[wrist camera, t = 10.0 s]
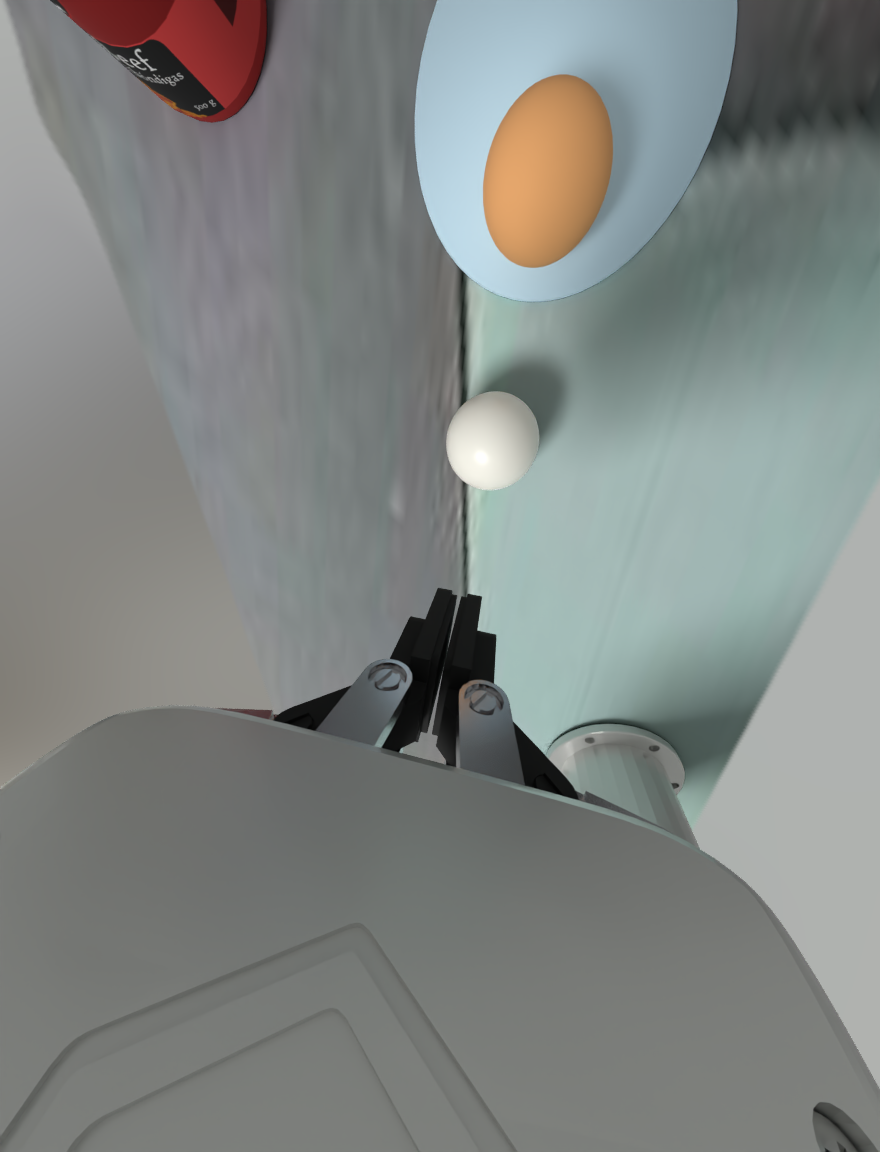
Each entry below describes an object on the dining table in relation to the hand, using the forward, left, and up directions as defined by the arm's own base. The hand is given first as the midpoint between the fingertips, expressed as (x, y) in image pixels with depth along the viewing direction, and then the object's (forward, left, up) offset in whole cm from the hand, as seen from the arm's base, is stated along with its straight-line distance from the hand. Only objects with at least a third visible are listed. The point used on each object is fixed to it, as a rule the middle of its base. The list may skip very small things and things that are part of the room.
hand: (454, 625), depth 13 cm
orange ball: (+13, -11, -11) cm, 20 cm away
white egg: (+4, -3, -11) cm, 13 cm away
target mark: (+15, -13, -14) cm, 24 cm away
